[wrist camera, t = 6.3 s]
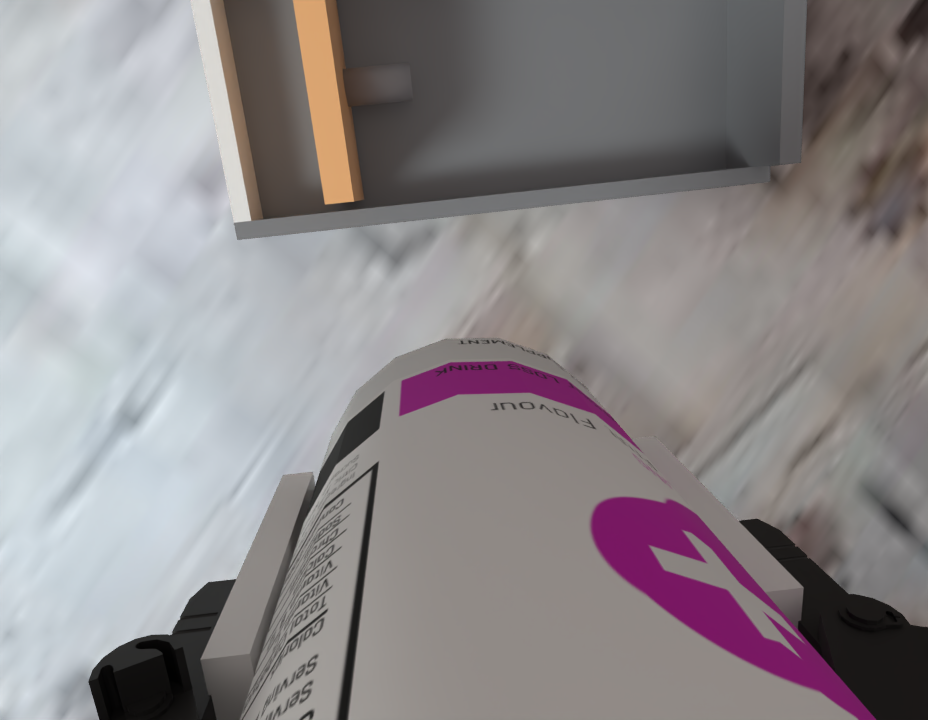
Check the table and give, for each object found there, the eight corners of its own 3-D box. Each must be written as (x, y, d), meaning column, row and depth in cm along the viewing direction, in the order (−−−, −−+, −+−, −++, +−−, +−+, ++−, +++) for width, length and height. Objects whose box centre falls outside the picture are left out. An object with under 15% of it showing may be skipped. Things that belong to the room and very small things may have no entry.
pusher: (423, 193, 32) (426, 193, 26) (340, 202, 32) (325, 204, 26) (397, -28, 29) (394, -82, 24) (307, -20, 29) (281, -73, 23)
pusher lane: (734, 182, 34) (800, 181, 29) (254, 235, 33) (222, 244, 27) (737, -77, 31) (812, -138, 25) (205, -31, 30) (155, -85, 24)
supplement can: (521, 276, 17) (1046, 698, 3) (647, 504, 20) (1297, 1376, 5) (274, 422, 18) (-283, 1370, 4) (423, 627, 20) (453, 1728, 6)
